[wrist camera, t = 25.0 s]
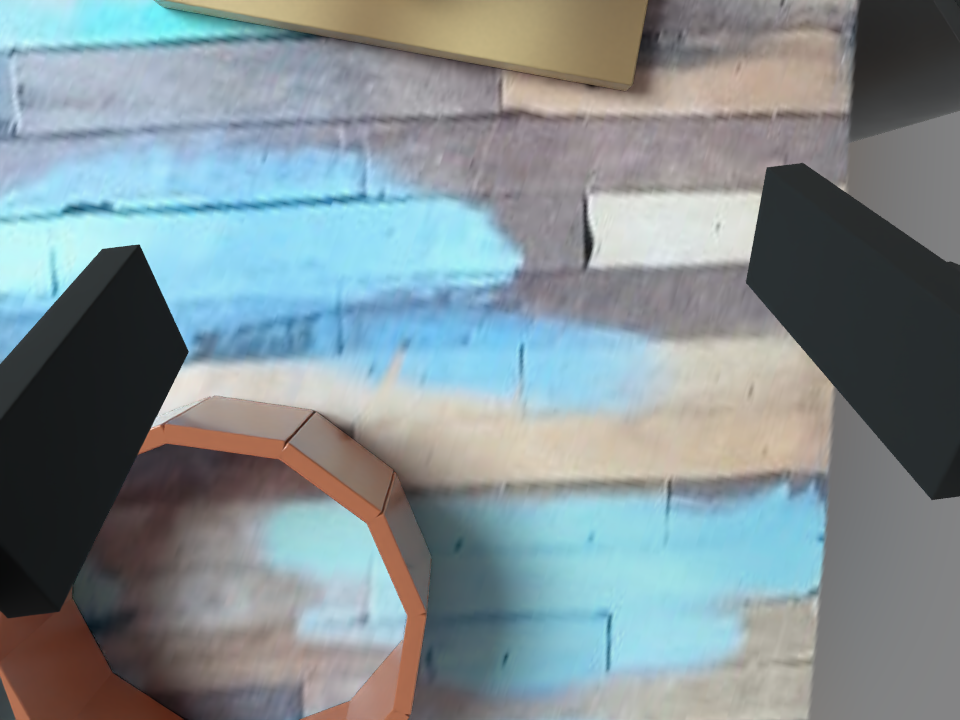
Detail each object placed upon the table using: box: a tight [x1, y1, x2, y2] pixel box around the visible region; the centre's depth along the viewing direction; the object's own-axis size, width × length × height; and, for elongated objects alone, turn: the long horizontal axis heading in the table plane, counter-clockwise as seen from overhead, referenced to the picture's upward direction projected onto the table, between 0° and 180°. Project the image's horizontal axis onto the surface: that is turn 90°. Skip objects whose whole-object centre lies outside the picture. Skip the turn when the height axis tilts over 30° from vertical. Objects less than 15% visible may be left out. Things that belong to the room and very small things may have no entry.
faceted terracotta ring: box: [0, 396, 432, 720], centre depth 28 cm, size 18×18×5 cm
